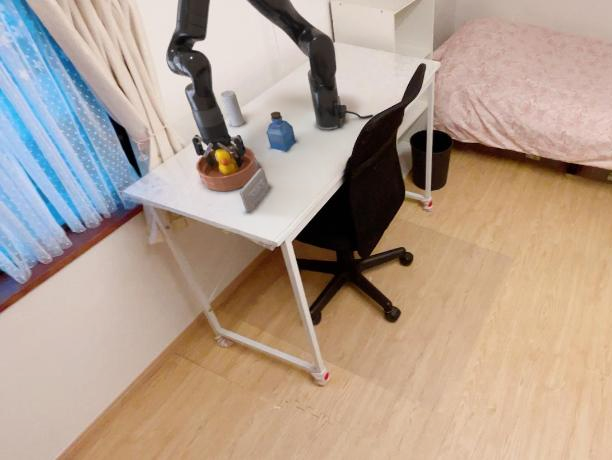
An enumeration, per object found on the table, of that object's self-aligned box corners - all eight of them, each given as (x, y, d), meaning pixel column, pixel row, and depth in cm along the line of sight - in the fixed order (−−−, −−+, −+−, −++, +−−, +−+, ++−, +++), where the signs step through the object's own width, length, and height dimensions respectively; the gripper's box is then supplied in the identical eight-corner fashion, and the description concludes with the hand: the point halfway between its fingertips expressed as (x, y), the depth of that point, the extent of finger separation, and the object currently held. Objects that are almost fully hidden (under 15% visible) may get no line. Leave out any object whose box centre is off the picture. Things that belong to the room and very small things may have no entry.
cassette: (265, 187, 133) (259, 166, 128) (271, 188, 133) (264, 167, 128) (245, 212, 125) (237, 191, 120) (251, 213, 125) (243, 193, 119)
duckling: (242, 181, 134) (232, 155, 127) (224, 186, 133) (213, 159, 126) (237, 162, 142) (227, 136, 135) (220, 166, 140) (209, 140, 133)
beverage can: (240, 128, 158) (230, 97, 149) (228, 126, 158) (217, 96, 150) (246, 121, 161) (237, 91, 153) (235, 119, 162) (225, 89, 153)
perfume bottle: (296, 141, 151) (288, 111, 143) (286, 151, 147) (278, 120, 139) (280, 138, 153) (272, 107, 144) (270, 148, 148) (262, 116, 140)
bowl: (264, 159, 144) (260, 145, 140) (250, 192, 132) (245, 177, 128) (213, 159, 144) (207, 145, 140) (194, 192, 131) (187, 177, 128)
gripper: (179, 126, 121) (199, 172, 132) (230, 126, 121) (246, 173, 132) (189, 112, 126) (208, 158, 138) (238, 113, 126) (252, 158, 138)
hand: (226, 165), depth 135 cm, fingers open, 8 cm apart
